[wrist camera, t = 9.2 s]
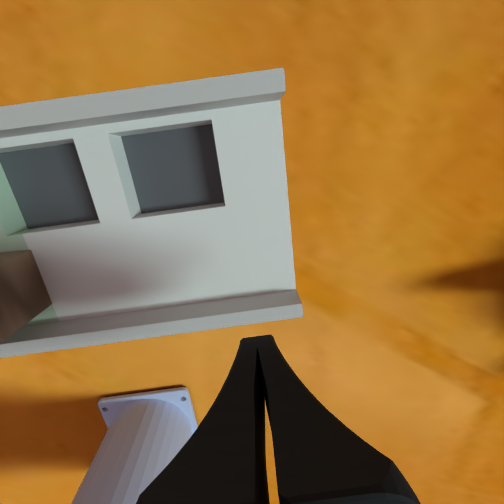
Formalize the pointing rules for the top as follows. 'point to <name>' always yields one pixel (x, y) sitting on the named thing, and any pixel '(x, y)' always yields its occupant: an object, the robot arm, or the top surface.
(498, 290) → the top surface
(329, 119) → the top surface
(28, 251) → the walnut block
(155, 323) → the tray
